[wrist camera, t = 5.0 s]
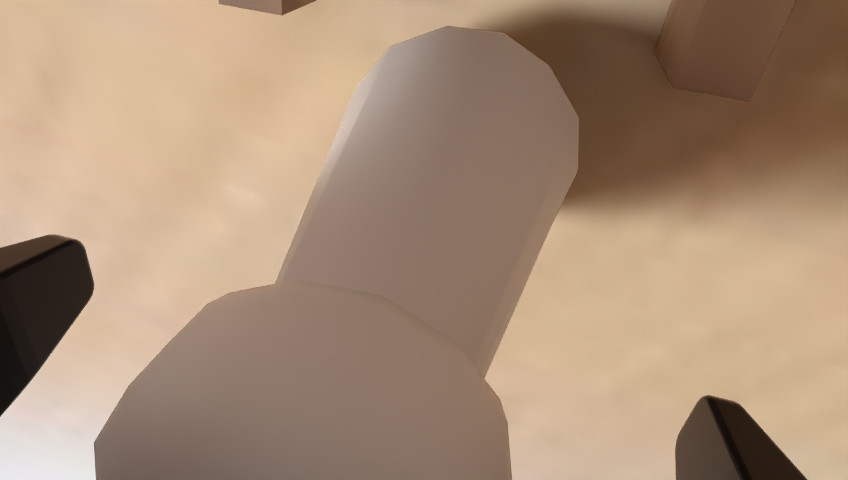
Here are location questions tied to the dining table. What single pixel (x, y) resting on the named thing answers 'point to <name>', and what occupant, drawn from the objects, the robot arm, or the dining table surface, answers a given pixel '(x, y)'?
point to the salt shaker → (375, 290)
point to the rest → (685, 41)
